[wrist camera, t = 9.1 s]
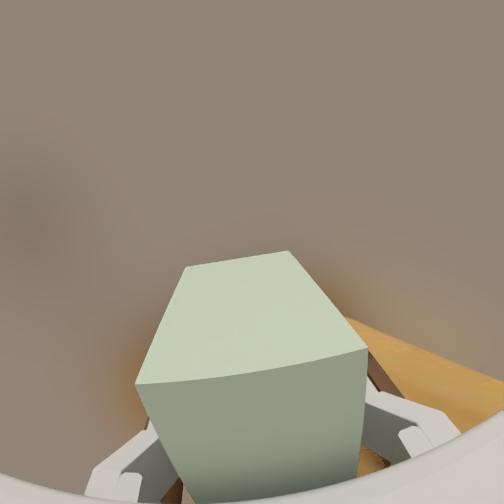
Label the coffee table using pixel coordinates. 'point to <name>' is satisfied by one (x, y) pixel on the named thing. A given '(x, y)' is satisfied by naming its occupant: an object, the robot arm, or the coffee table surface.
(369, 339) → the coffee table surface
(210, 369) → the pale green tall brick
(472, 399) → the coffee table surface
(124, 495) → the robot arm
